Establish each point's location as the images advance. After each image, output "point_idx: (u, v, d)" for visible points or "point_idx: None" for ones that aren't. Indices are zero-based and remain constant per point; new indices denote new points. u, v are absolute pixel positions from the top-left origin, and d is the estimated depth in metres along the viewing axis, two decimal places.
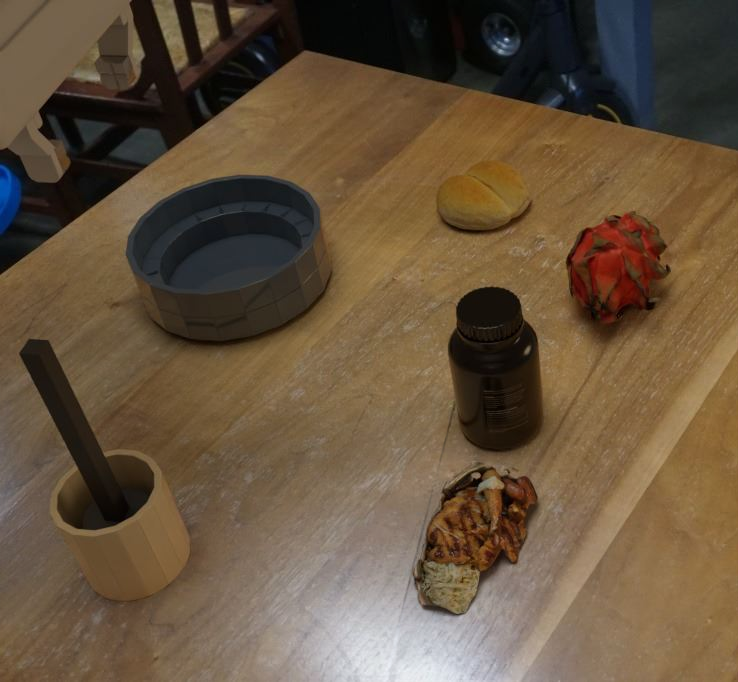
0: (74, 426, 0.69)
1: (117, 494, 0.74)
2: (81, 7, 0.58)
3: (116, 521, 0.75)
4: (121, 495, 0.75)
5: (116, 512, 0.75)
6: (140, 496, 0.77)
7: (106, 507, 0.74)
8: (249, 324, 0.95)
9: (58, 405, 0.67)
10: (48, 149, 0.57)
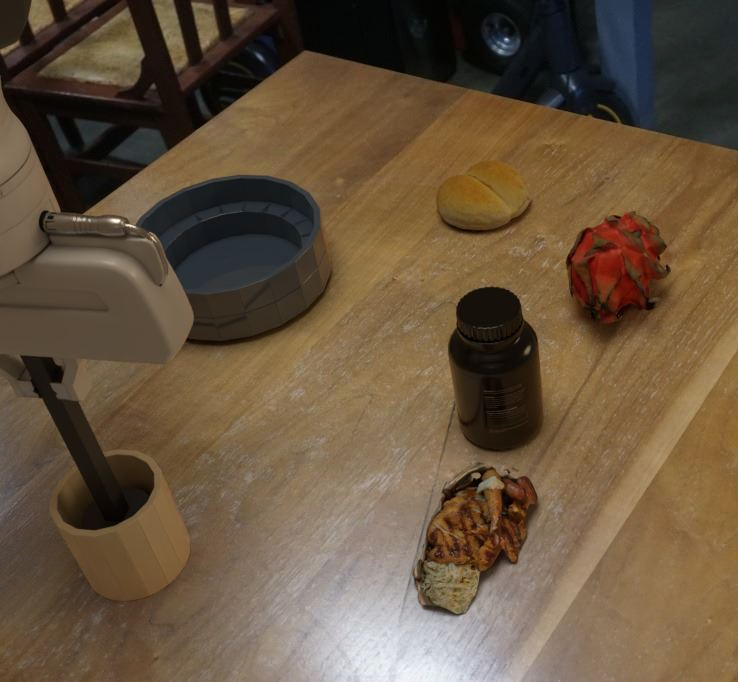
0: (74, 426, 0.69)
1: (117, 494, 0.74)
2: (7, 328, 0.61)
3: (116, 521, 0.75)
4: (121, 495, 0.75)
5: (116, 512, 0.75)
6: (140, 496, 0.77)
7: (106, 507, 0.74)
8: (249, 324, 0.95)
9: (58, 405, 0.67)
10: (5, 376, 0.66)
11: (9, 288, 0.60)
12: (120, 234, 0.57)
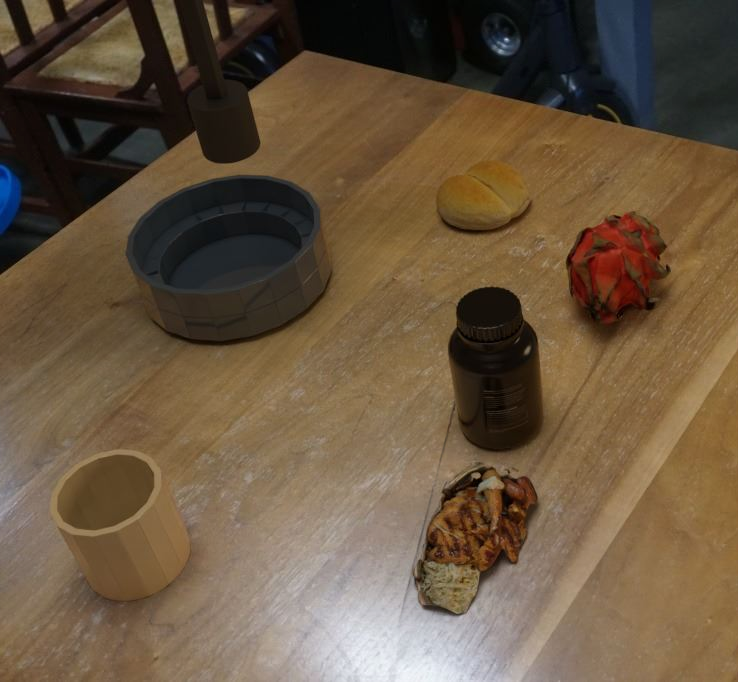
0: None
1: (219, 71, 0.87)
2: None
3: (217, 98, 0.88)
4: (221, 74, 0.87)
5: (217, 87, 0.87)
6: (235, 84, 0.89)
7: (209, 81, 0.87)
8: (249, 324, 0.95)
9: None
10: None
11: None
12: None
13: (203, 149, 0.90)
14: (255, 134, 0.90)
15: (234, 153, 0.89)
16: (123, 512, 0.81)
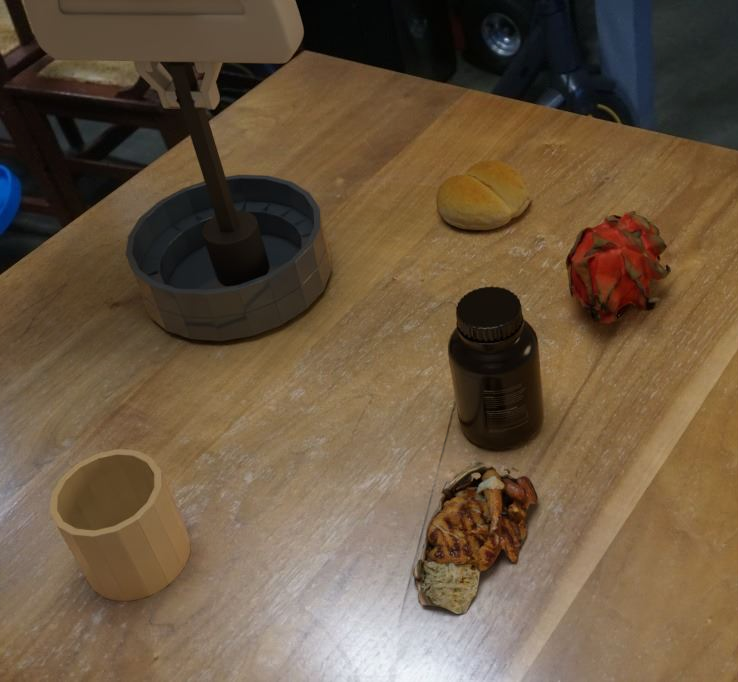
0: (204, 135, 0.88)
1: (231, 207, 0.94)
2: (165, 35, 0.81)
3: (229, 231, 0.95)
4: (233, 209, 0.95)
5: (230, 221, 0.94)
6: (246, 216, 0.96)
7: (222, 217, 0.94)
8: (249, 324, 0.95)
9: (193, 114, 0.87)
10: (155, 87, 0.85)
11: None
12: None
13: (217, 275, 0.97)
14: (264, 260, 0.98)
15: (245, 279, 0.97)
16: (123, 512, 0.81)
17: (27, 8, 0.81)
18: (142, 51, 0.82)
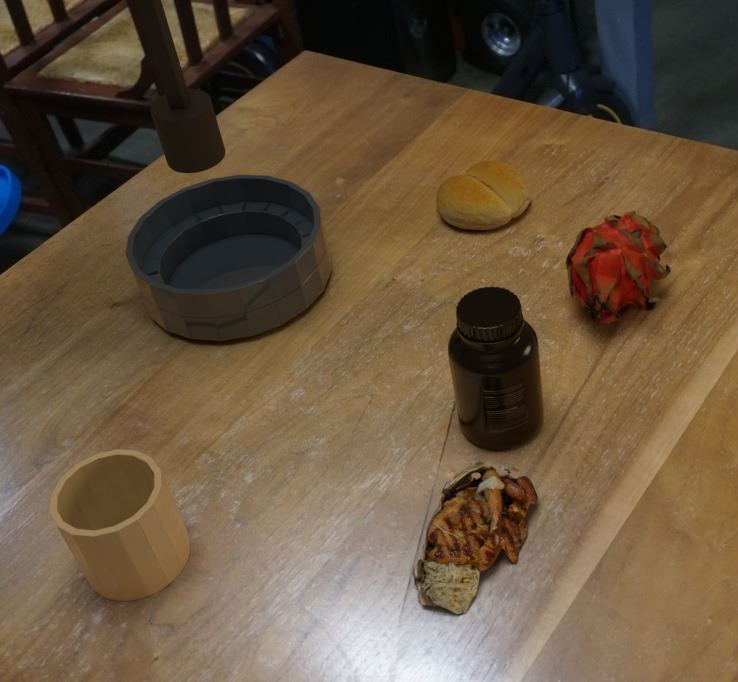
0: None
1: (181, 80, 0.86)
2: None
3: (180, 108, 0.87)
4: (184, 84, 0.87)
5: (180, 97, 0.86)
6: (199, 93, 0.89)
7: (172, 91, 0.86)
8: (249, 324, 0.95)
9: None
10: None
11: None
12: None
13: (167, 159, 0.89)
14: (219, 144, 0.90)
15: (198, 163, 0.89)
16: (123, 512, 0.81)
17: None
18: None
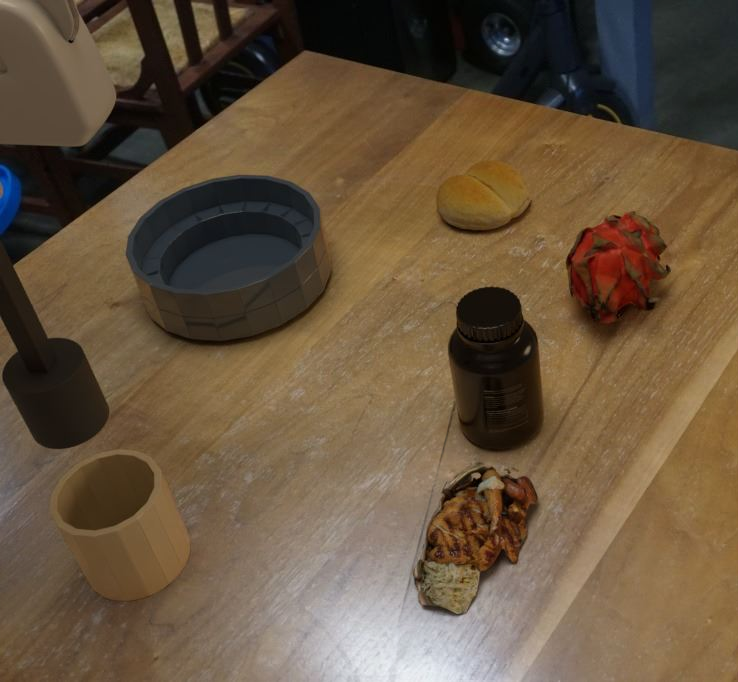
0: None
1: (41, 338, 0.65)
2: None
3: (41, 372, 0.66)
4: (46, 341, 0.65)
5: (40, 360, 0.65)
6: (70, 347, 0.67)
7: (28, 353, 0.64)
8: (249, 324, 0.95)
9: None
10: None
11: None
12: None
13: (29, 430, 0.68)
14: (98, 409, 0.68)
15: (69, 437, 0.67)
16: (123, 512, 0.81)
17: None
18: None
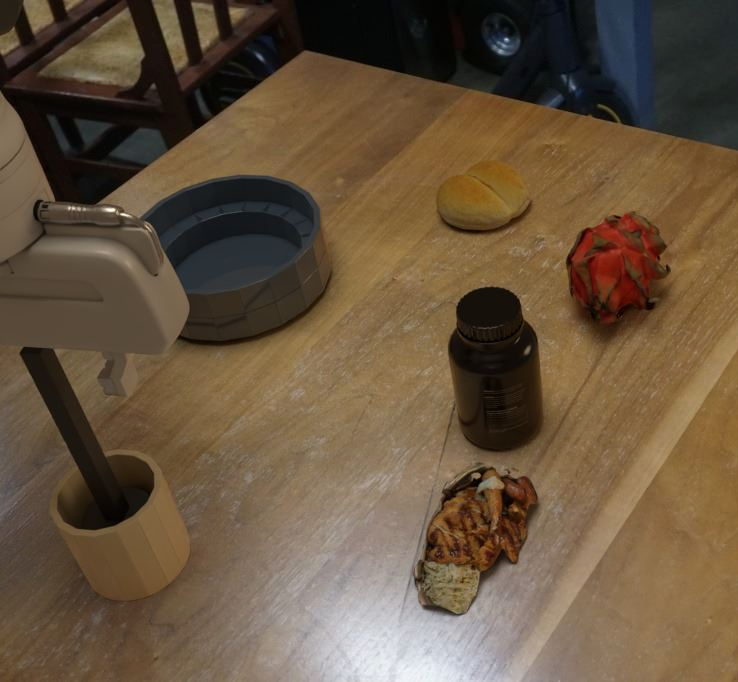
0: (74, 426, 0.69)
1: (117, 494, 0.74)
2: (1, 318, 0.61)
3: (116, 520, 0.75)
4: (121, 495, 0.75)
5: (116, 512, 0.75)
6: (140, 496, 0.77)
7: (106, 507, 0.74)
8: (249, 324, 0.95)
9: (58, 404, 0.67)
10: None
11: (3, 278, 0.59)
12: (115, 223, 0.57)
13: None
14: None
15: None
16: None
17: None
18: None
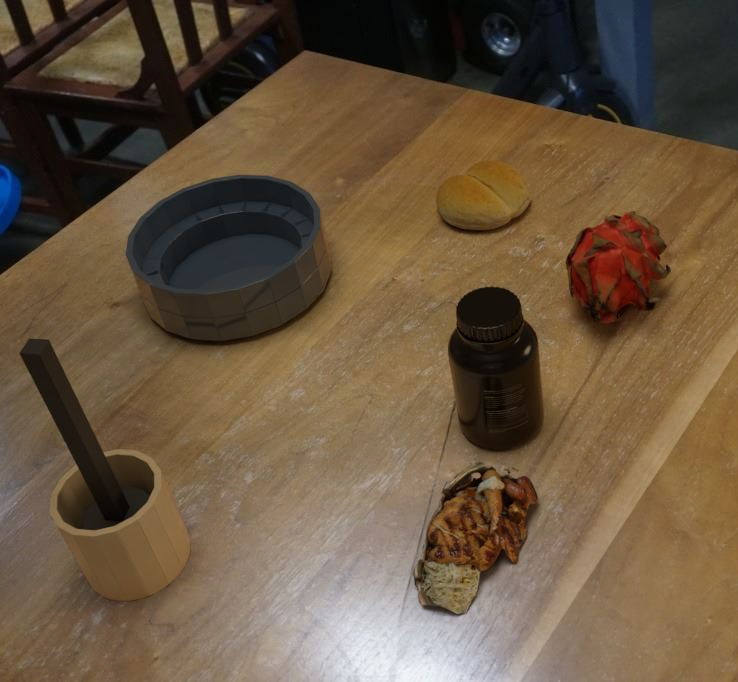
0: (74, 426, 0.69)
1: (117, 494, 0.74)
2: None
3: (116, 520, 0.75)
4: (121, 495, 0.75)
5: (116, 512, 0.75)
6: (140, 496, 0.77)
7: (106, 507, 0.74)
8: (249, 324, 0.95)
9: (58, 404, 0.67)
10: None
11: None
12: None
13: None
14: None
15: None
16: None
17: None
18: None
